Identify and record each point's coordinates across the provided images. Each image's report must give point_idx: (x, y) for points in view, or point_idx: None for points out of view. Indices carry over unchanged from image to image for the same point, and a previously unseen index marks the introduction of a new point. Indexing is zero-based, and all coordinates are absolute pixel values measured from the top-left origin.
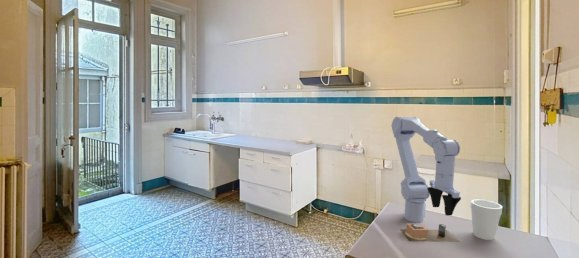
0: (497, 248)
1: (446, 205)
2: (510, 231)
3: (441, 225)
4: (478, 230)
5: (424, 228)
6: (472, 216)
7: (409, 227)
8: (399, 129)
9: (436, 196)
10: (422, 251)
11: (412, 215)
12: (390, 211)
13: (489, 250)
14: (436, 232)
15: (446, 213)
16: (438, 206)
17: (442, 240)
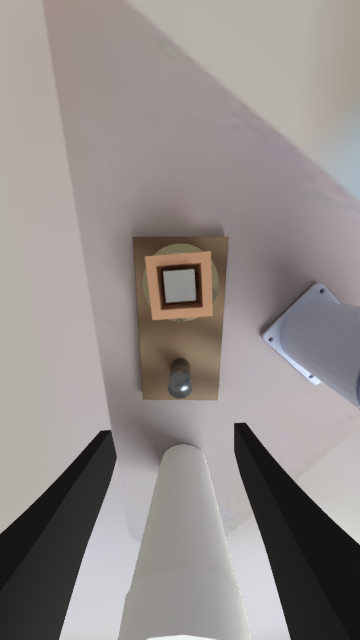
0: (134, 461)
1: (20, 516)
2: None
3: (179, 385)
4: (168, 474)
5: (163, 311)
6: (196, 519)
7: (183, 254)
8: None
9: (277, 546)
10: (90, 265)
11: (308, 323)
12: None
13: (122, 440)
14: (200, 361)
15: (91, 442)
16: (235, 452)
17: (146, 353)
